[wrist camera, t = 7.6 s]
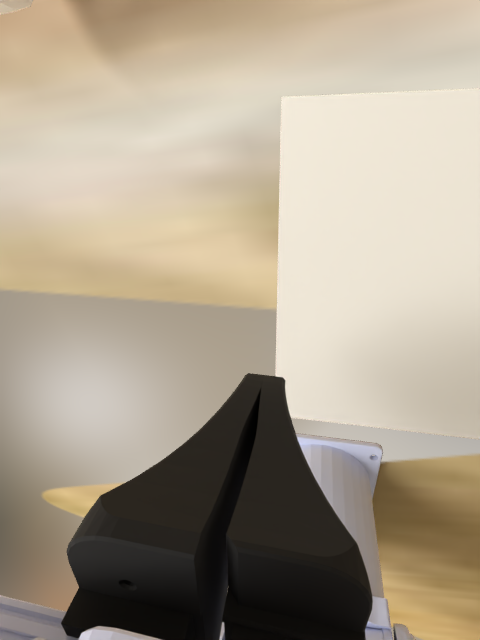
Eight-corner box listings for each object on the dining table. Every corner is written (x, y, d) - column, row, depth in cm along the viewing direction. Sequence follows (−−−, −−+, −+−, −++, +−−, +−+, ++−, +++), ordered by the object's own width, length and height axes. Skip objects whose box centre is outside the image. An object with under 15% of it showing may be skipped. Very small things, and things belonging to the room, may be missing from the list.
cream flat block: (481, 403, 22) (502, 442, 19) (279, 383, 24) (274, 415, 22) (599, 86, 14) (659, 80, 12) (287, 99, 17) (281, 96, 14)
